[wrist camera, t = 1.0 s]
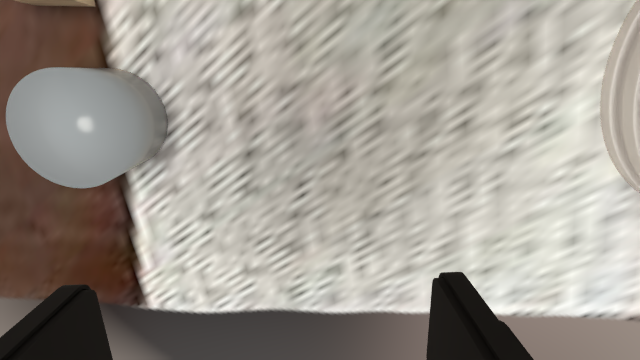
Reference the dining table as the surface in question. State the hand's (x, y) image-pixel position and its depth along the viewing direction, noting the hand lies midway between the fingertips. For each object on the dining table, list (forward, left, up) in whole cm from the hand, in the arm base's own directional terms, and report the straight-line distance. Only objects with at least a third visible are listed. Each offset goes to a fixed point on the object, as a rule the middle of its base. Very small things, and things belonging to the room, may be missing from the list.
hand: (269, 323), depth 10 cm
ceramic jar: (-2, -17, -25) cm, 30 cm away
